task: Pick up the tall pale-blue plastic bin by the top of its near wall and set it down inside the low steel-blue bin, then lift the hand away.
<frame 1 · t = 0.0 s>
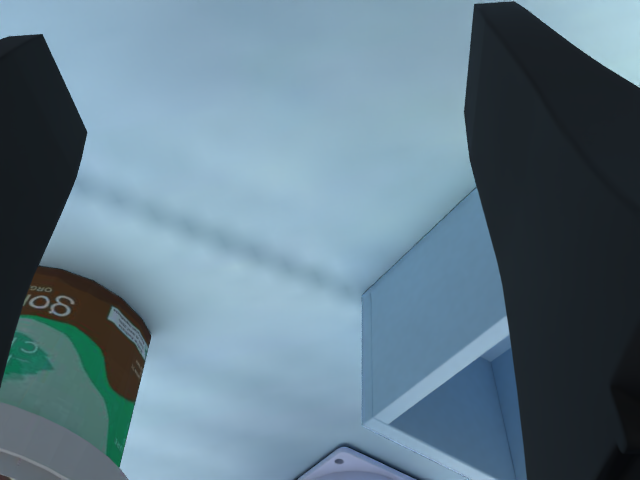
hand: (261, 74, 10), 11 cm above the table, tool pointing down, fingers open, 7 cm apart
pale blue bin: (496, 277, 27), on the table
food container: (39, 293, 29), on the table
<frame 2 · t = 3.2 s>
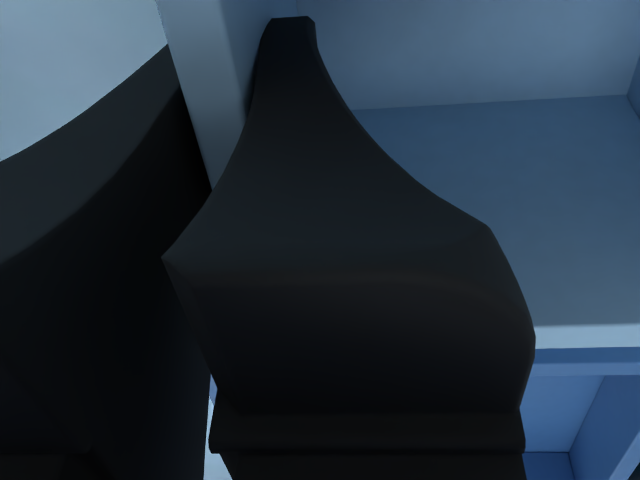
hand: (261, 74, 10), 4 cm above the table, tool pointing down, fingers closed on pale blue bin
steel blue bin: (426, 377, 25), on the table
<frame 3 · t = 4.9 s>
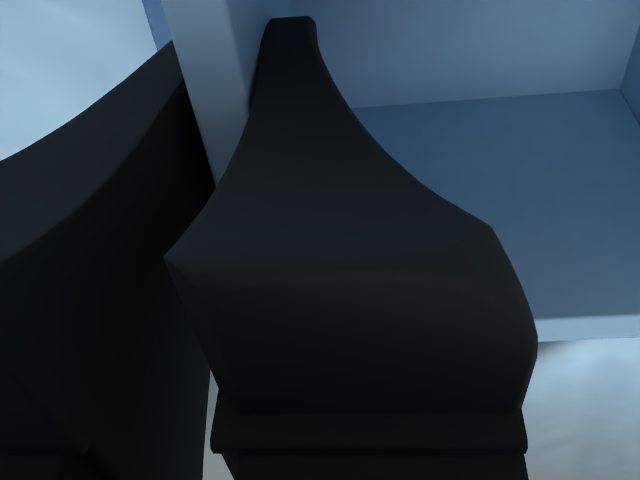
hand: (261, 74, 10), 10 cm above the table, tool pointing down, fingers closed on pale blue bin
steel blue bin: (401, 98, 23), on the table
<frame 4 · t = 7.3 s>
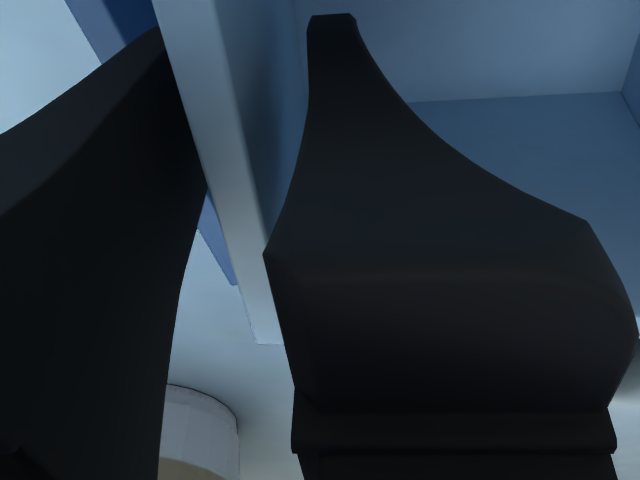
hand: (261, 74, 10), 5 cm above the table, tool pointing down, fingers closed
coffee cup: (167, 414, 30), on the table
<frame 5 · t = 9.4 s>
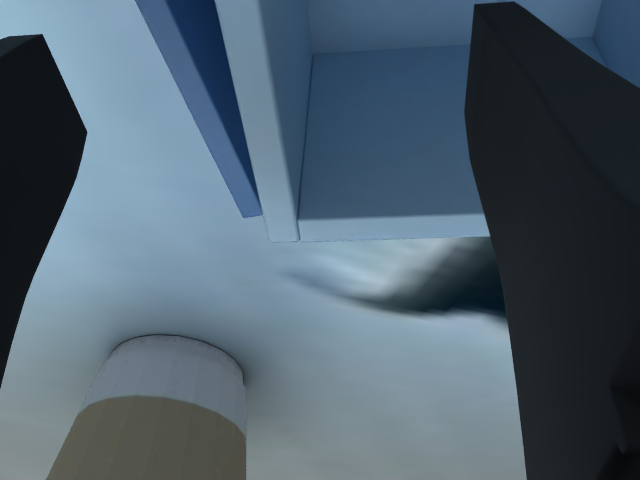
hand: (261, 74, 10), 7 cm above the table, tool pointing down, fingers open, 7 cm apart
coffee cup: (177, 369, 32), on the table
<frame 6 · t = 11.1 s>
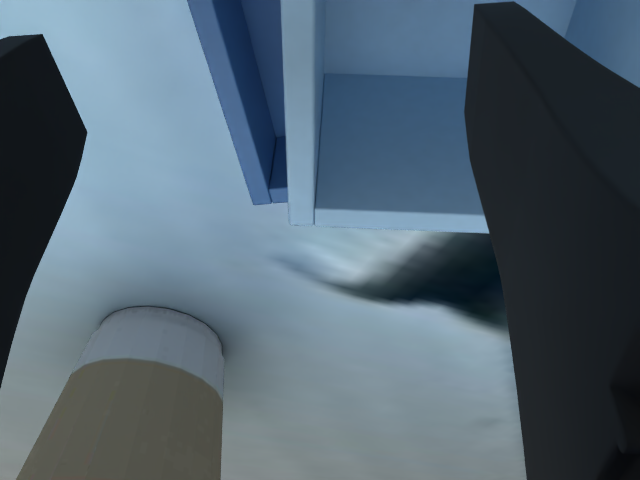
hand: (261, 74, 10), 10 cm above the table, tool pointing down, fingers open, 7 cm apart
coffee cup: (162, 340, 35), on the table
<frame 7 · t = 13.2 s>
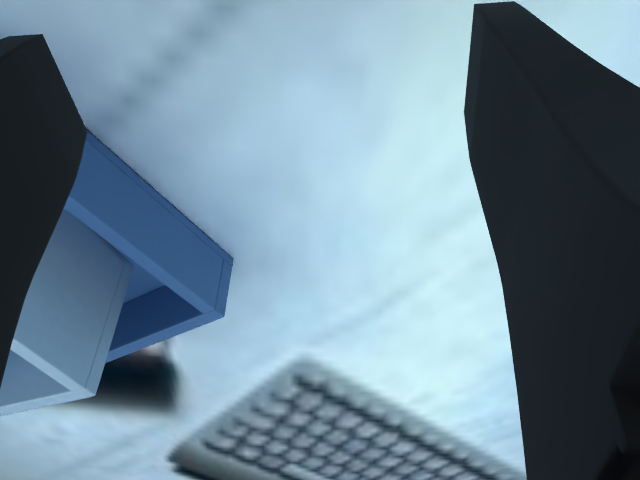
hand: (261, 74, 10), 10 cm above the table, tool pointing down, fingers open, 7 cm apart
pale blue bin: (5, 229, 28), resting on steel blue bin
steel blue bin: (21, 219, 28), on the table
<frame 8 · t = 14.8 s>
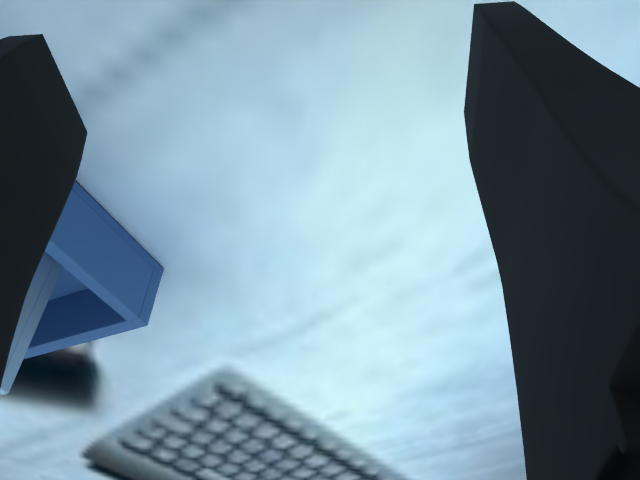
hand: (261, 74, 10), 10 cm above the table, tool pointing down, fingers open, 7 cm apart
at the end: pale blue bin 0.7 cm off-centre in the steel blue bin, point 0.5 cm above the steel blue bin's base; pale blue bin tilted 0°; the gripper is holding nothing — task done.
